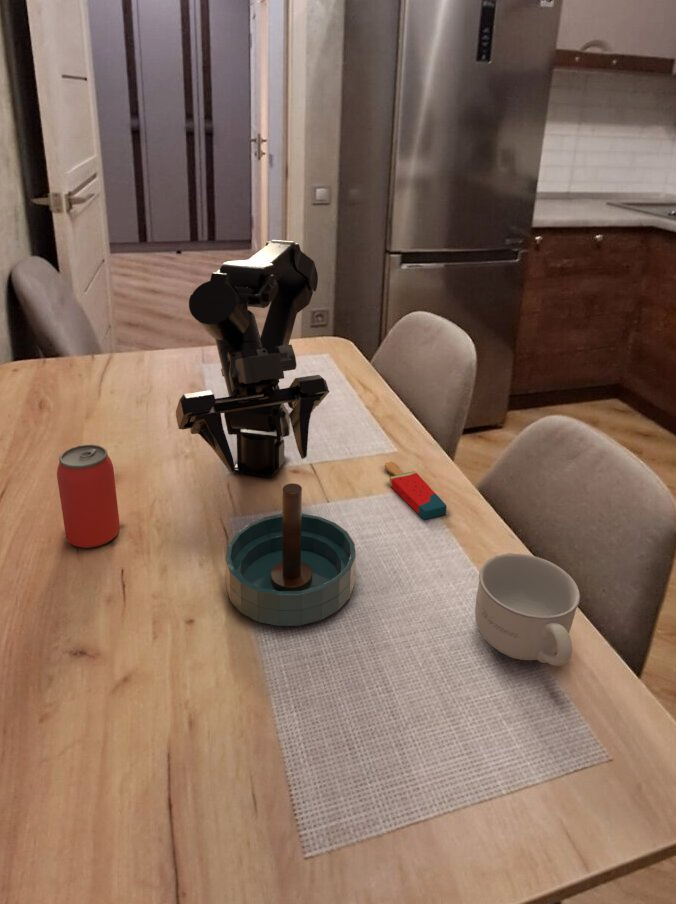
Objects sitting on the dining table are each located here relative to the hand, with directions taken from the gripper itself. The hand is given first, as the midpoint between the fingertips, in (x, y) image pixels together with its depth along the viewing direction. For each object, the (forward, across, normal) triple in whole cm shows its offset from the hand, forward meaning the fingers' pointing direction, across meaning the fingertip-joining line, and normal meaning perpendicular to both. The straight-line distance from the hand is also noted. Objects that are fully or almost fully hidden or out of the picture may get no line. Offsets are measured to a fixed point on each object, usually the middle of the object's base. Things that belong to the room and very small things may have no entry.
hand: (269, 464), depth 83 cm
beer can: (+1, -20, +18) cm, 27 cm away
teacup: (+29, +20, -11) cm, 36 cm away
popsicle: (+6, +24, +12) cm, 28 cm away
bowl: (+14, 0, +4) cm, 15 cm away
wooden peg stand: (+14, 0, +3) cm, 14 cm away
